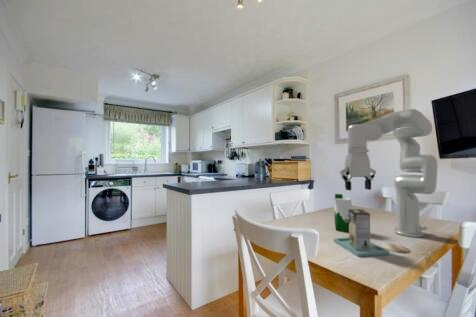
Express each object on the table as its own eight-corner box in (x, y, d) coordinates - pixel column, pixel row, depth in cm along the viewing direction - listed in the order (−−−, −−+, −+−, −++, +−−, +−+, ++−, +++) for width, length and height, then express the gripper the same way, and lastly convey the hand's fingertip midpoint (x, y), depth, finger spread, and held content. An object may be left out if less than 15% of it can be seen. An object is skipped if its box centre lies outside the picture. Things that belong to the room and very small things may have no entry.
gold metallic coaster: (397, 244, 105) (396, 243, 105) (414, 252, 96) (414, 251, 96) (379, 245, 103) (379, 244, 103) (395, 253, 95) (395, 252, 95)
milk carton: (336, 226, 135) (335, 193, 135) (352, 228, 130) (352, 194, 130) (333, 230, 127) (333, 195, 128) (351, 232, 122) (350, 196, 123)
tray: (360, 239, 111) (360, 236, 111) (389, 254, 94) (389, 251, 94) (333, 241, 110) (333, 238, 110) (358, 256, 92) (358, 253, 92)
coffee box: (348, 243, 106) (347, 208, 106) (363, 243, 105) (362, 209, 105) (355, 250, 97) (354, 213, 97) (371, 251, 96) (370, 213, 96)
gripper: (368, 152, 107) (369, 188, 106) (335, 152, 104) (335, 189, 104) (380, 151, 99) (381, 190, 99) (344, 151, 97) (345, 191, 97)
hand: (358, 189), depth 102 cm, fingers open, 9 cm apart
